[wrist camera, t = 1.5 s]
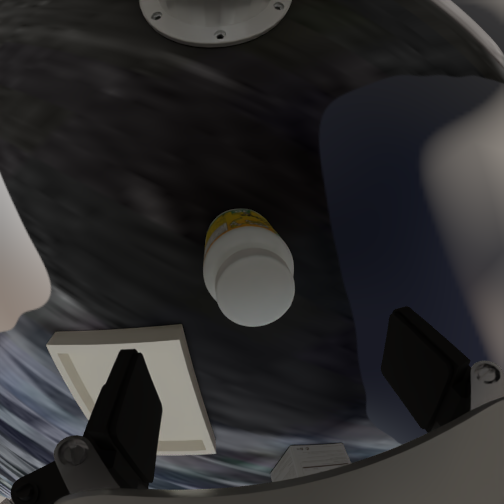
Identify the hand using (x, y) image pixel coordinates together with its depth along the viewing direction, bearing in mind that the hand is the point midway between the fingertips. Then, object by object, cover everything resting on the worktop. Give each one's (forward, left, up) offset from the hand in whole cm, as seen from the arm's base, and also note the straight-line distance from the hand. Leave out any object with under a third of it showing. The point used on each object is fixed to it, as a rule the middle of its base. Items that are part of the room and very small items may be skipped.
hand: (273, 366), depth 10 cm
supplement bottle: (-1, 0, -15) cm, 15 cm away
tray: (+15, -13, -15) cm, 25 cm away
